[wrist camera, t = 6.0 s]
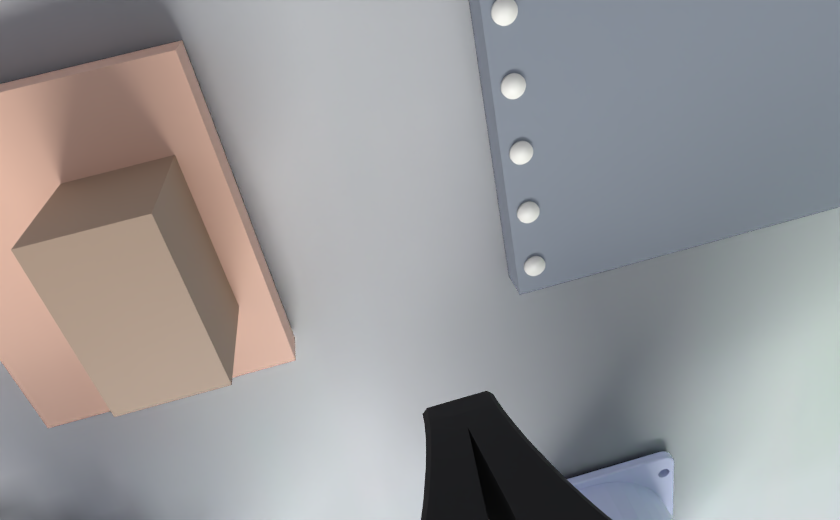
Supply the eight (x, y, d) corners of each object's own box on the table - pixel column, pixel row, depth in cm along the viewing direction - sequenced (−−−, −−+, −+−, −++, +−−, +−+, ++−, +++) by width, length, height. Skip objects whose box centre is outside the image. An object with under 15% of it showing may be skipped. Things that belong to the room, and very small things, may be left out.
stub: (294, 338, 22) (298, 441, 18) (59, 402, 21) (6, 524, 17) (182, 40, 17) (150, 88, 13) (-133, 116, 16) (-274, 192, 12)
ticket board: (877, 176, 23) (908, 189, 22) (509, 276, 22) (520, 296, 21) (941, -144, 18) (984, -147, 17) (464, -30, 17) (477, -24, 16)
